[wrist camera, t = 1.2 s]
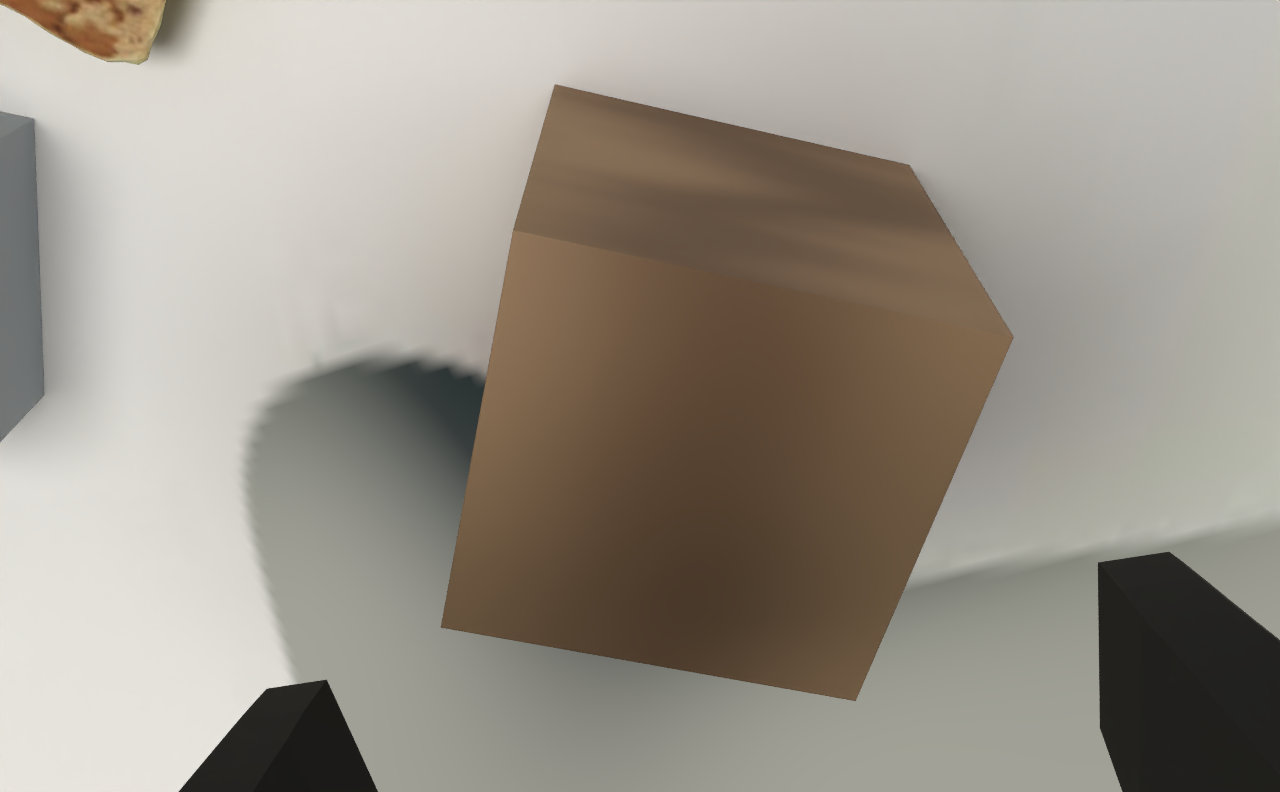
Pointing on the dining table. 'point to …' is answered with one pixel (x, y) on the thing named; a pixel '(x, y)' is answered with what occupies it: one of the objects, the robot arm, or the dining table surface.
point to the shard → (98, 25)
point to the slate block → (19, 274)
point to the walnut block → (716, 399)
